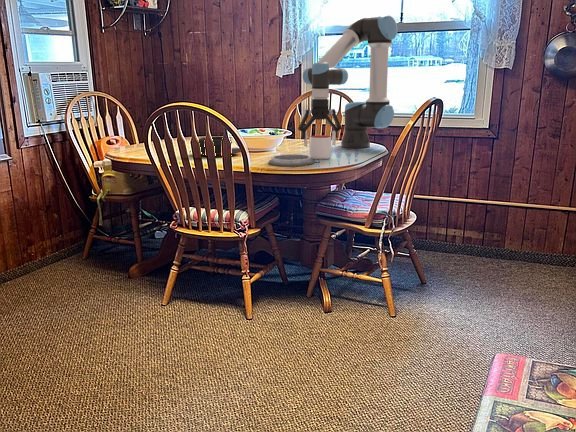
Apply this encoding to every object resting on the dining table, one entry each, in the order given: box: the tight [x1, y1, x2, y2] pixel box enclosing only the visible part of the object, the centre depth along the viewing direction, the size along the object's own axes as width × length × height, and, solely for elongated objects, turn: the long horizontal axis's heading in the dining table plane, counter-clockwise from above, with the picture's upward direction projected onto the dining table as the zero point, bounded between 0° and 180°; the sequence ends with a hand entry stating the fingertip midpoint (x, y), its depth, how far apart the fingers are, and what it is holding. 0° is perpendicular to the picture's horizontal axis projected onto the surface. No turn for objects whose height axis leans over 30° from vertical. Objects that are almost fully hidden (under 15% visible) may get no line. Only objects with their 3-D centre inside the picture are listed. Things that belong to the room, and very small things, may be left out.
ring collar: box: [268, 153, 315, 168], centre depth 242 cm, size 20×20×2 cm
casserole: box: [189, 135, 241, 157], centre depth 267 cm, size 25×19×8 cm
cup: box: [308, 134, 332, 161], centre depth 252 cm, size 10×10×10 cm
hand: (319, 145), depth 252 cm, fingers open, 13 cm apart
